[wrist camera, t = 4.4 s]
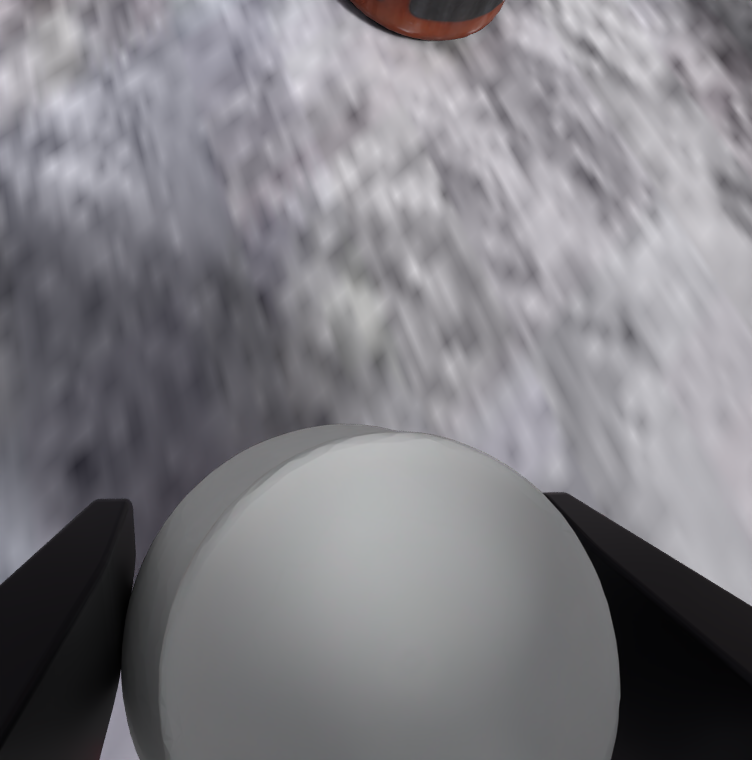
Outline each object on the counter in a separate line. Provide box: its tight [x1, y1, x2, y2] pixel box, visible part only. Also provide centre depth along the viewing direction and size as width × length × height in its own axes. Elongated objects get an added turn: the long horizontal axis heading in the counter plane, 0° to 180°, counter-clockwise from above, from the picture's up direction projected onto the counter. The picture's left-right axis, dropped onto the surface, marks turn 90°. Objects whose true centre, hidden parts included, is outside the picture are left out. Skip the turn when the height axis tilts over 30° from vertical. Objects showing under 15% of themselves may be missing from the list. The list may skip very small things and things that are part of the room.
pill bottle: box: [121, 424, 620, 760], centre depth 10 cm, size 5×5×10 cm
